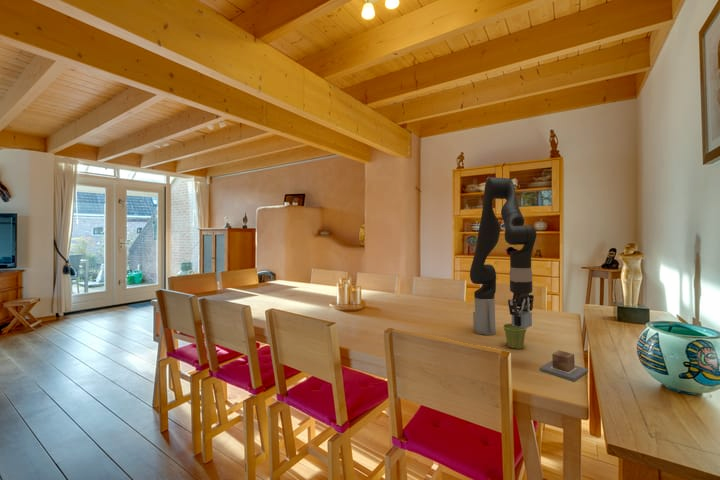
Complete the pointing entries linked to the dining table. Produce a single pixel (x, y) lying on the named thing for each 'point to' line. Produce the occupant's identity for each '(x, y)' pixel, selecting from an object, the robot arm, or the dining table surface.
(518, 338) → the plant pot
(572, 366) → the walnut block
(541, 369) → the plate
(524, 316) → the blue block
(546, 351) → the dining table surface
